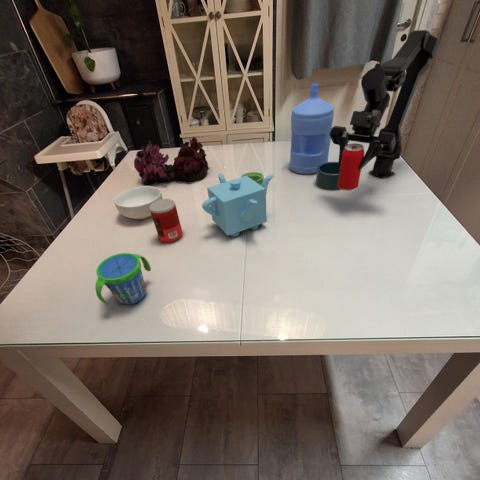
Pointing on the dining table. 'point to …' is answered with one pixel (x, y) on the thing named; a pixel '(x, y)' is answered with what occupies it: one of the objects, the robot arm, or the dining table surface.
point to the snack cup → (122, 277)
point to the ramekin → (255, 176)
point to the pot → (328, 176)
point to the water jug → (310, 133)
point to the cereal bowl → (137, 201)
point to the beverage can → (350, 167)
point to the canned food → (166, 220)
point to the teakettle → (237, 204)
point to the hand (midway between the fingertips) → (348, 167)
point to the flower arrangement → (183, 170)
